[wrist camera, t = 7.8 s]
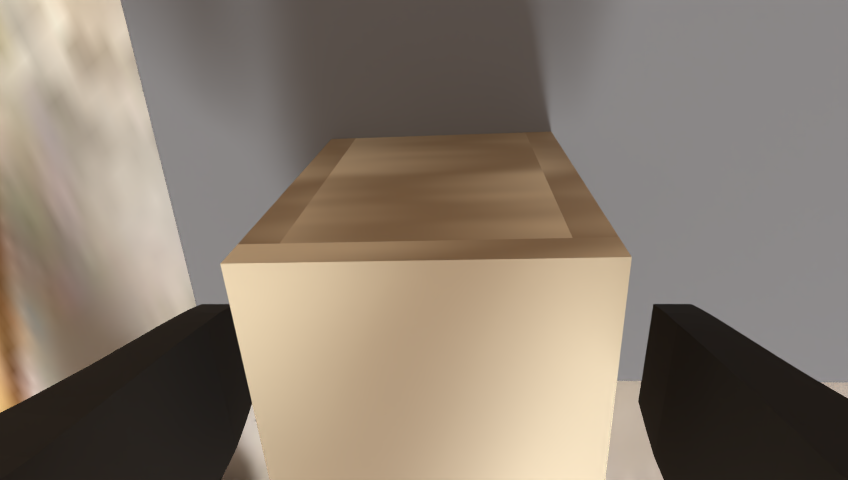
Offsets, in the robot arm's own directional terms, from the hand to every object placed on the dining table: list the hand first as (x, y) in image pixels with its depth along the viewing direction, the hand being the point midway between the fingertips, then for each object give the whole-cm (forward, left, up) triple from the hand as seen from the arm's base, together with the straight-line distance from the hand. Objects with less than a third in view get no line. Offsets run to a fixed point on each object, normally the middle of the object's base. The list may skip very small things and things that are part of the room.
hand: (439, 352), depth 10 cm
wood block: (0, 0, -5) cm, 5 cm away
